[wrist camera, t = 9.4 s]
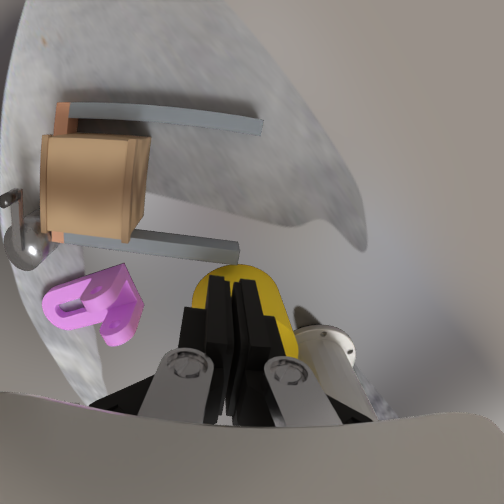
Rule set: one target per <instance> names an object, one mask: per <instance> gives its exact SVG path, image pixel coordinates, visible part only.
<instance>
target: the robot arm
mask: <svg viewBox="0 0 504 504" xmlns="http://www.w3.org/2000/svg"><path fill="white" fill-rule="evenodd" d="M293 332H294V335H295V338H296V341H297V344H298V350H299V353H298V359H296V358H293V357H289V356H286V354H285V350H284V347H283V343H282V340H281V336H280V333H279V329H278V326H277V322H276V319H275V317H274V316H267V315H263V311H262V306H261V302H260V298H259V294H258V289H257V285H256V281H255V280H250V279H241V278H240V280H239V282H234V283H233V289H232V295H231V292H230V281H225V280H224V276H216V275H209V280H208V288H207V296H206V304H205V309H200V308H192V307H184V313H183V319H182V325H181V332H180V338H179V345H178V348H177V349H174V350H171V351H169V352H167V353H166V354H165V355H164V357H163V358H162V360H161V362H160V364H159V366H158V369H157V371H156V373H155V375H153V376H150V377H148V378H146V379H144V380H142V381H140V382H137V383H135V384H133V385H131V386H128V387H126V388H124V389H122V390H120V391H117V392H115V393H113V394H110V395H108V396H106V397H104V398H101V399H99V400H97V401H95V402H93V403H92V404H90V405H89V406H84V405H80V404H79V403H71V402H65V401H61V400H56V399H52V398H48V397H44V396H37V395H32V394H27V393H18V392H0V504H504V433H503V432H502V431H501V430H500V429H499V428H498V427H497V426H496V424H494V423H493V422H492V421H491V420H490V419H488V418H486V417H483V416H480V415H476V414H470V413H462V412H446V413H436V414H429V415H421V416H414V417H406V418H400V419H392V420H384V421H381V420H378V418H377V416H376V414H375V412H374V410H373V408H372V406H371V404H370V402H369V400H368V398H367V396H366V393H365V391H364V389H363V387H362V385H361V383H360V381H359V379H358V378H357V376H356V374H355V372H354V370H353V368H352V367H353V365H354V362H355V358H356V350H355V346H354V344H353V342H352V340H351V339H350V337H349V335H347V334H346V333H345V332H344V331H342V330H341V329H339V328H337V327H333V326H329V325H311V326H307V327H302V328H300V329H297V330H294V331H293ZM224 401H225V402H226V415H227V416H232V422H233V426H227V425H214V424H215V423H217V420H218V415H222V411H223V406H224Z"/></svg>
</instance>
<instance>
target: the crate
mask: <svg viewBox="0 0 504 504" xmlns="http://www.w3.org/2000/svg"><path fill="white" fill-rule="evenodd" d="M150 144H151V137H146V136H134V135H120V134H103V133H79V132H77V133H70V134H63V135H57V136H52V135H42V145H41V163H40V220H41V233H48V232H49V231H56V232H64V233H72V234H80V235H88V236H96V237H104V238H112V239H120V240H121V243H126V244H128V243H129V242H130V236H131V233H132V231H133V230H134V229H135V227H136V226H137V224H138V223H139V221H140V220H141V219H142V217H143V216H144V204H145V203H144V202H145V190H146V179H147V170H148V161H149V152H150Z"/></svg>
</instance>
